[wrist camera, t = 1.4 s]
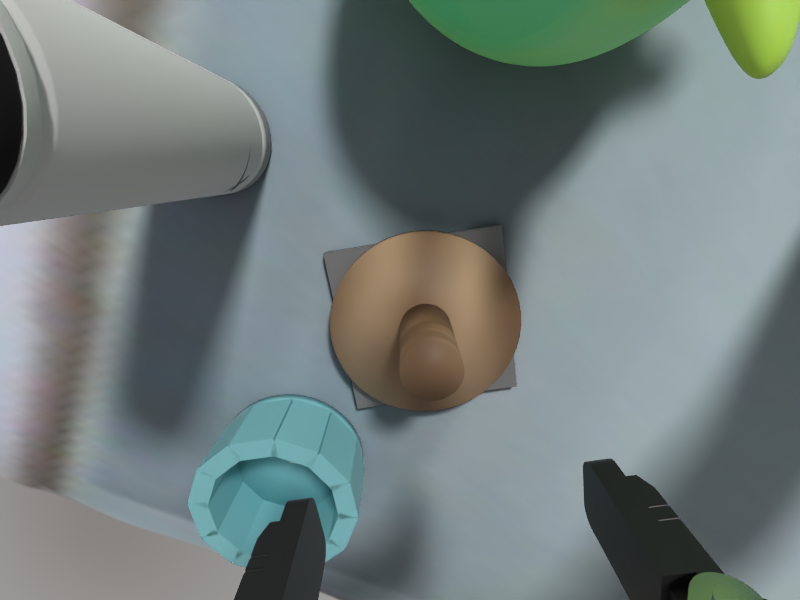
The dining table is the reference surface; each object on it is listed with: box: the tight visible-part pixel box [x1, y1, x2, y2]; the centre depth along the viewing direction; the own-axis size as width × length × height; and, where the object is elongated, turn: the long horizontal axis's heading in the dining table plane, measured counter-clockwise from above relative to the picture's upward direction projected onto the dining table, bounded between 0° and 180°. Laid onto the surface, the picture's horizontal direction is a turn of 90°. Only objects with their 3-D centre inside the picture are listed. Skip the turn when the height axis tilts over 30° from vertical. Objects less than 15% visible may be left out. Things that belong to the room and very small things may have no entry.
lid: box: [330, 230, 521, 411], centre depth 24 cm, size 12×12×7 cm
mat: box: [323, 224, 516, 409], centre depth 27 cm, size 11×11×1 cm
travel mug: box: [0, 0, 271, 226], centre depth 15 cm, size 6×7×20 cm
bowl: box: [188, 394, 364, 567], centre depth 28 cm, size 10×10×5 cm
